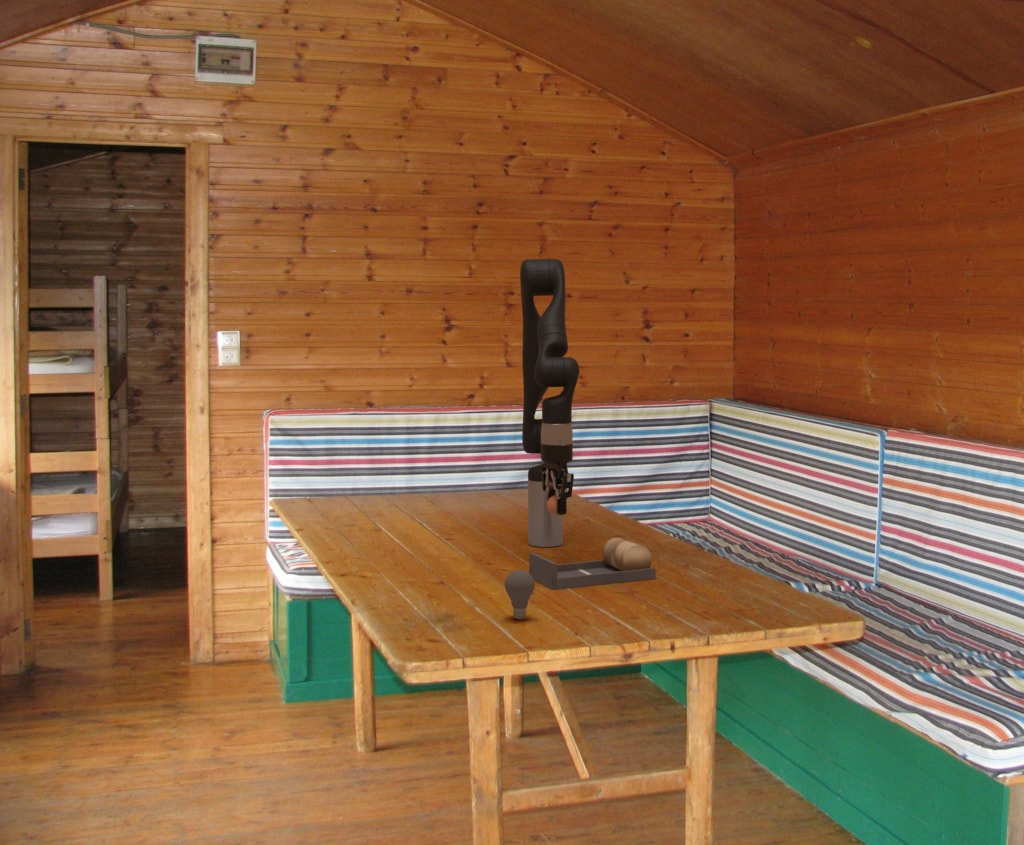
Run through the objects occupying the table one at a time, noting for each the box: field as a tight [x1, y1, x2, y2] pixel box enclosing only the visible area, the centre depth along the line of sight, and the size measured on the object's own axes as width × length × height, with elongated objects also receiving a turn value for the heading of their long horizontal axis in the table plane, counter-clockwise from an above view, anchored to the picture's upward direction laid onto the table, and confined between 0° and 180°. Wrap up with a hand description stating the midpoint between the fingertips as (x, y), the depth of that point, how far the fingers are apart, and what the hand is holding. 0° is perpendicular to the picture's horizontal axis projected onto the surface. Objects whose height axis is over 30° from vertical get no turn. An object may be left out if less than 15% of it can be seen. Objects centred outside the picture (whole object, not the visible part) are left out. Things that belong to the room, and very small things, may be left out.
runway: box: [528, 552, 657, 591], centre depth 270 cm, size 13×26×6 cm, turn 113°
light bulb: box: [504, 569, 536, 621], centre depth 234 cm, size 6×6×10 cm
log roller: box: [601, 536, 653, 571], centre depth 273 cm, size 11×7×7 cm, turn 23°
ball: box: [547, 495, 568, 515], centre depth 278 cm, size 5×5×5 cm
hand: (556, 512), depth 279 cm, fingers closed on ball, 4 cm apart
